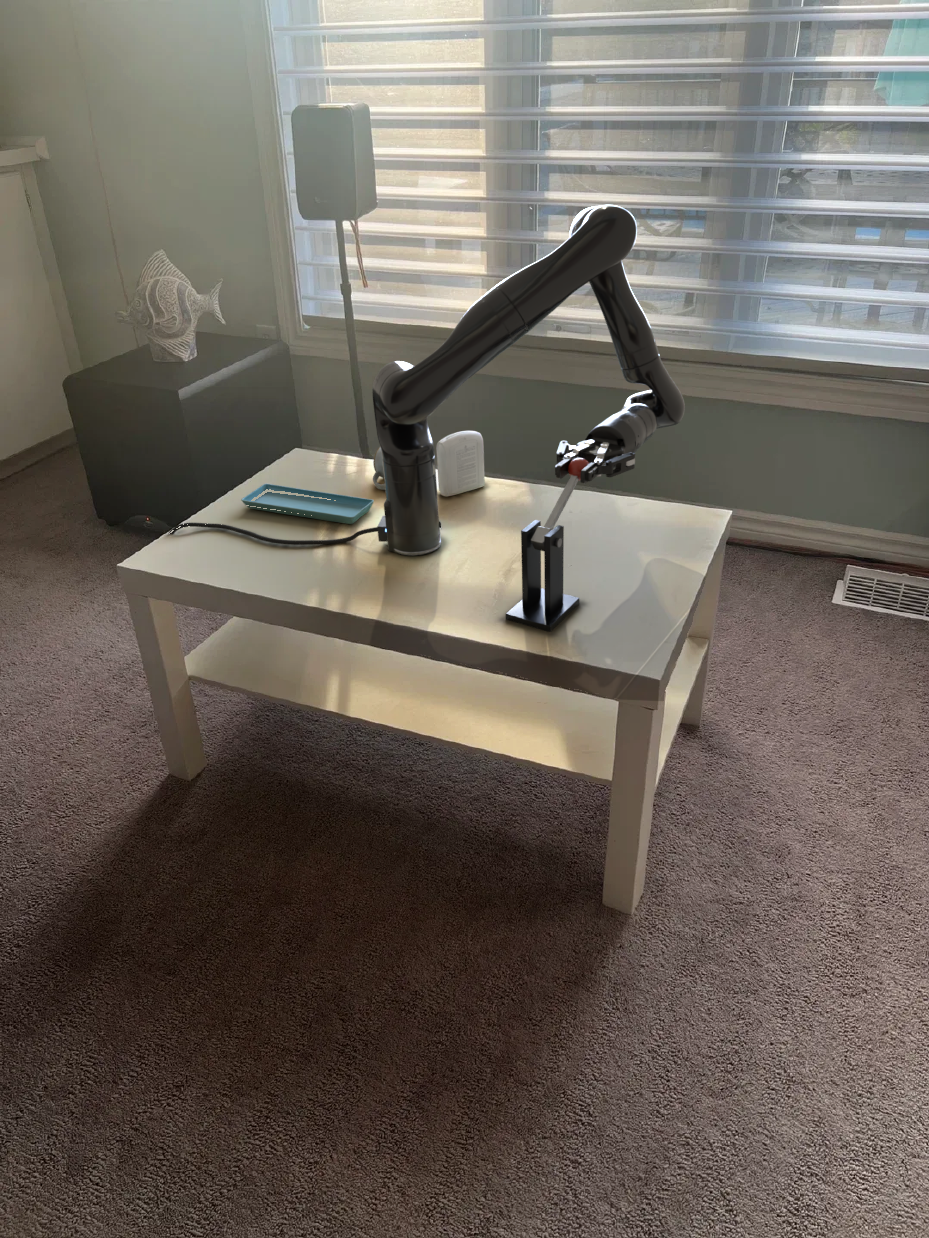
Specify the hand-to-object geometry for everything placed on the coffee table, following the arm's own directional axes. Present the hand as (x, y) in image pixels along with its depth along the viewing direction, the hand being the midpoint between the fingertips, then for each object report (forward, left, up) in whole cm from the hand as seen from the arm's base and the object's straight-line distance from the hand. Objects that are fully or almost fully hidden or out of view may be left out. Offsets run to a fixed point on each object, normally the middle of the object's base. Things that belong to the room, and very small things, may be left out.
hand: (570, 475), depth 143 cm
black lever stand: (-4, -8, -20) cm, 22 cm away
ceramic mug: (-39, +45, -20) cm, 63 cm away
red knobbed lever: (-1, -2, -5) cm, 5 cm away
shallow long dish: (-54, +30, -20) cm, 65 cm away
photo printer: (-24, +41, -20) cm, 51 cm away
